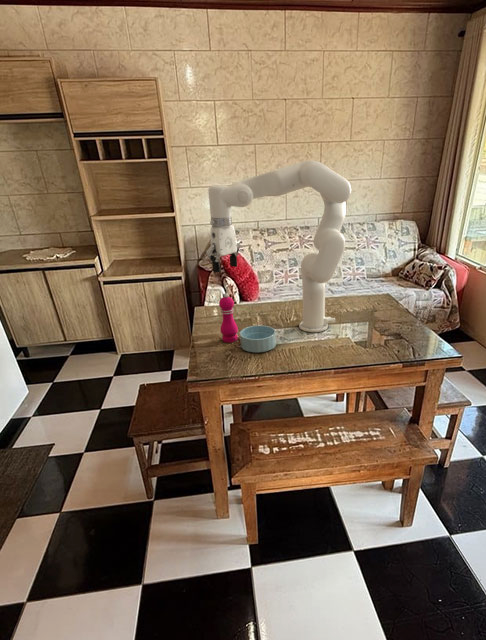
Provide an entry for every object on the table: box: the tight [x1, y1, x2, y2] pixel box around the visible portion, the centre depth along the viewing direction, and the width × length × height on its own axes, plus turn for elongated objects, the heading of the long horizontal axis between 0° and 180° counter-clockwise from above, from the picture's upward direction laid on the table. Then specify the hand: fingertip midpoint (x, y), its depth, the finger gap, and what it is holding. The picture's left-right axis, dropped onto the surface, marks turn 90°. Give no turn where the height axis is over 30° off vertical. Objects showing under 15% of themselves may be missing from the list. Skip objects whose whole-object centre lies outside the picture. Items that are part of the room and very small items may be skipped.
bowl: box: [239, 324, 277, 354], centre depth 163 cm, size 14×14×6 cm
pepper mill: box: [218, 293, 239, 344], centre depth 166 cm, size 7×7×20 cm
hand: (225, 269), depth 157 cm, fingers open, 9 cm apart
